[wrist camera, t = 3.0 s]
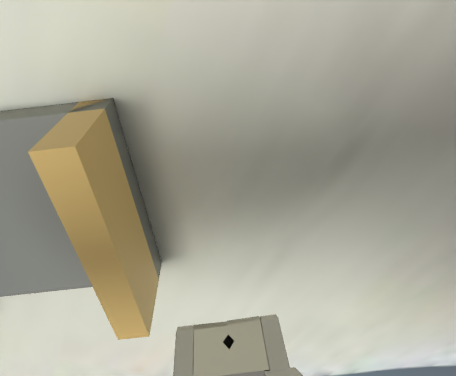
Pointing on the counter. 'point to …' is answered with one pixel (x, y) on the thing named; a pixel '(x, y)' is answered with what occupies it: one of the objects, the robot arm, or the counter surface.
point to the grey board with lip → (76, 211)
